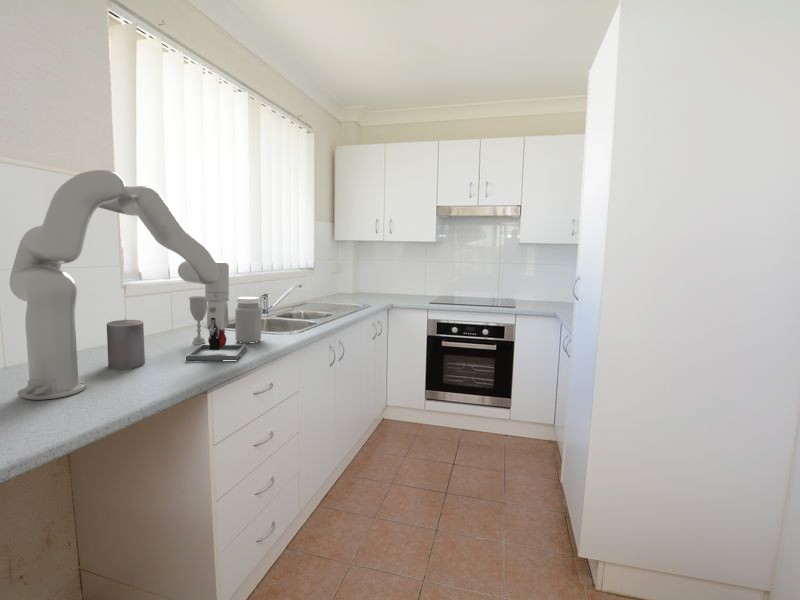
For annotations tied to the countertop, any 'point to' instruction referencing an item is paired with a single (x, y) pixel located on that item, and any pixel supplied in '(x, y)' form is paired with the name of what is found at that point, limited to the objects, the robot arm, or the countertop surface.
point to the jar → (248, 320)
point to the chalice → (198, 315)
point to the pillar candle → (125, 344)
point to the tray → (216, 353)
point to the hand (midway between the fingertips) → (217, 347)
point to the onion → (222, 339)
